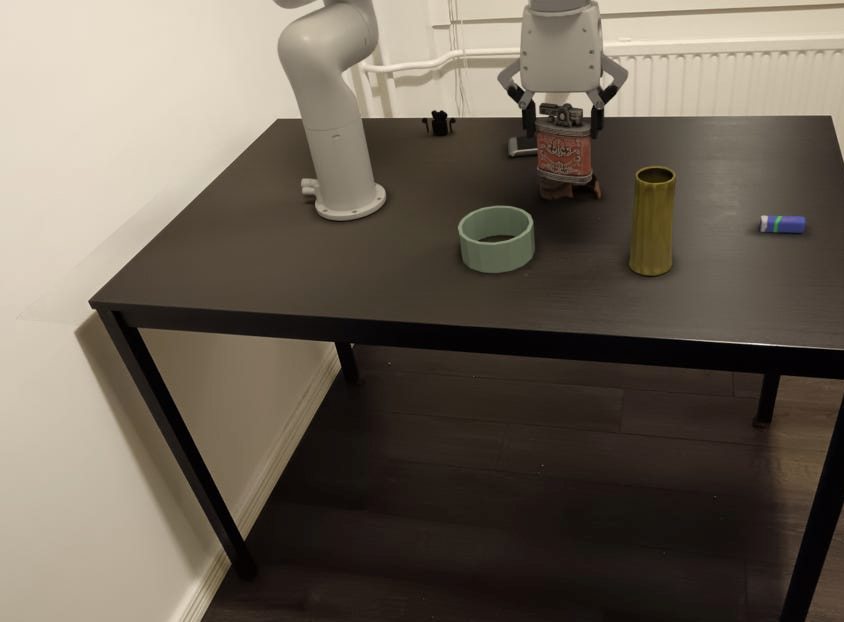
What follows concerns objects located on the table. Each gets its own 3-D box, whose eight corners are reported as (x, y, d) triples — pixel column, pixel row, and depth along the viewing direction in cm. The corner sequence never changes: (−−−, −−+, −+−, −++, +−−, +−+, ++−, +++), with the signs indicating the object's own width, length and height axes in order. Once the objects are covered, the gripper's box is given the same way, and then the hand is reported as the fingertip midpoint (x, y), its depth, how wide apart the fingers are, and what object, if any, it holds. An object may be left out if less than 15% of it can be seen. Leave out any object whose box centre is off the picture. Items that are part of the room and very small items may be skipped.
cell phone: (568, 152, 140) (568, 145, 139) (509, 158, 140) (508, 151, 139) (565, 138, 144) (565, 131, 143) (507, 144, 145) (507, 137, 144)
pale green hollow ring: (453, 270, 114) (449, 242, 111) (472, 231, 122) (469, 204, 119) (525, 275, 111) (523, 246, 108) (540, 235, 119) (539, 207, 116)
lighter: (596, 174, 104) (596, 103, 97) (585, 185, 102) (585, 113, 95) (544, 165, 108) (541, 96, 101) (532, 175, 106) (529, 106, 99)
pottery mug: (607, 209, 123) (584, 177, 118) (556, 231, 128) (531, 201, 122) (602, 160, 130) (580, 127, 125) (553, 182, 135) (530, 151, 129)
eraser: (759, 226, 114) (761, 214, 112) (802, 228, 112) (804, 216, 111) (759, 232, 112) (761, 221, 111) (803, 234, 111) (805, 223, 109)
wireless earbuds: (423, 136, 152) (419, 112, 149) (426, 131, 154) (423, 107, 151) (456, 136, 151) (453, 112, 147) (459, 131, 152) (456, 106, 149)
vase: (663, 280, 106) (669, 188, 97) (621, 271, 109) (624, 181, 100) (678, 258, 110) (685, 168, 101) (638, 250, 112) (642, 161, 103)
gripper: (637, -18, 90) (632, 123, 101) (496, -12, 95) (506, 122, 106) (630, 1, 85) (626, 148, 96) (480, 7, 89) (493, 146, 101)
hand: (563, 133), depth 101 cm, fingers closed on lighter, 8 cm apart
